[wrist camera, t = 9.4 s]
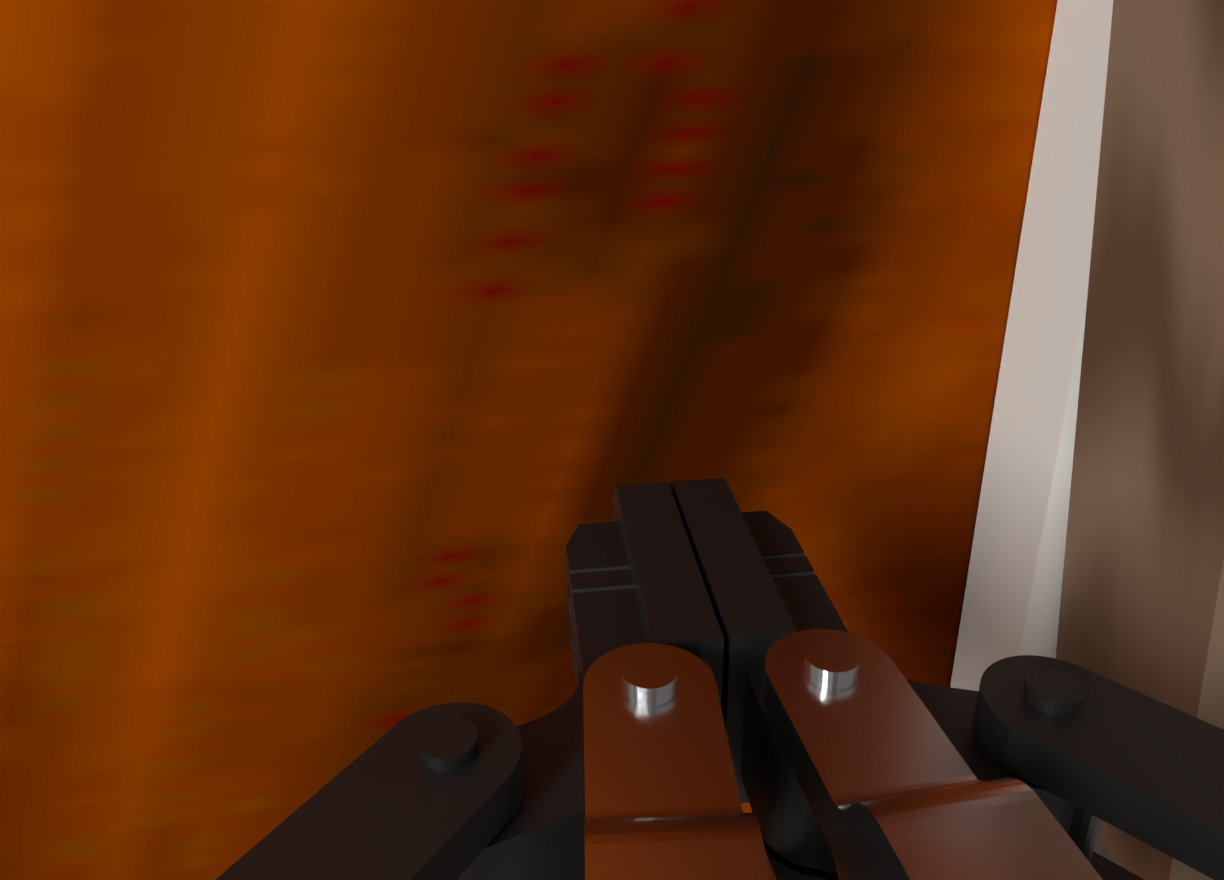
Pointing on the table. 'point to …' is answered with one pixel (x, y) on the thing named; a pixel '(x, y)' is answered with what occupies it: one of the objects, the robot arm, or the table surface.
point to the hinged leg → (1153, 386)
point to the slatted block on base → (1040, 366)
